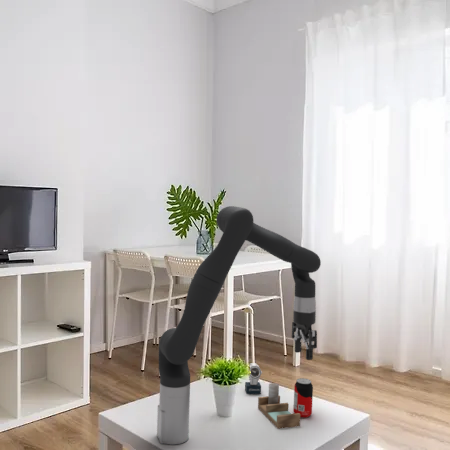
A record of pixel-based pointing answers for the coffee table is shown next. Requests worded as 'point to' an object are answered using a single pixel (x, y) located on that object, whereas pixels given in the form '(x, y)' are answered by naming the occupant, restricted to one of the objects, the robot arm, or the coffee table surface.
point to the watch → (253, 380)
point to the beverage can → (303, 397)
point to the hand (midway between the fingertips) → (303, 355)
